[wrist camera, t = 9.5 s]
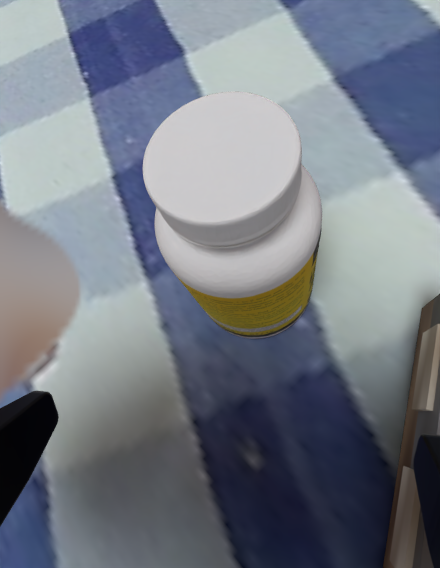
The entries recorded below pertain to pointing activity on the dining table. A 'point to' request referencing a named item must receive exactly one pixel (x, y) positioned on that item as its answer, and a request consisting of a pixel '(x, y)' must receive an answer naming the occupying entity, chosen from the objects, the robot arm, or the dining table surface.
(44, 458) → the dining table surface
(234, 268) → the supplement bottle
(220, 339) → the dining table surface
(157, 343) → the dining table surface
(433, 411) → the rail
